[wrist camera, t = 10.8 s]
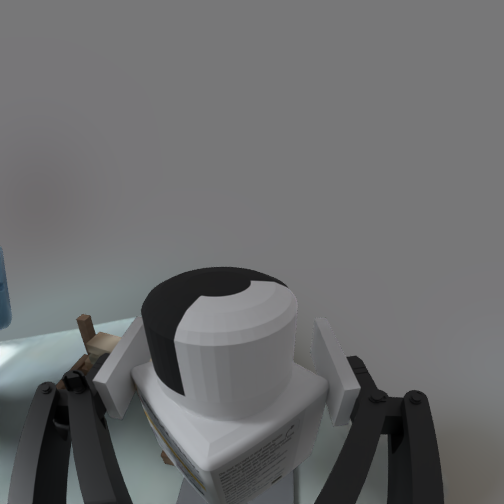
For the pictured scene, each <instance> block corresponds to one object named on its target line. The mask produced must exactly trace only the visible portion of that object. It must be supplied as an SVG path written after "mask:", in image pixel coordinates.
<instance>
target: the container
mask: <svg viewBox="0 0 504 504" xmlns="http://www.w3.org/2000/svg"><path fill="white" fill-rule="evenodd" d="M297 309H298V303H297V299H296V297H295V295H294V294H293V293H292V292H291V290H290V289H289V288H288V287H287V286H286V285H285V284H284V283H283V282H281V281H280V280H278V279H276V278H274V277H271V276H269V275H266V274H263V273H260V272H257V271H254V270H250V269H244V268H236V267H211V268H202V269H197V270H192V271H188V272H184V273H182V274H179V275H177V276H174V277H172V278H170V279H168V280H166V281H164V282H162V283H160V284H159V285H158V286H156V287H155V288H154V289H153V290H151V292H150V293H149V294H148V296H147V298H146V299H145V301H144V303H143V305H142V309H141V314H142V319H143V324H144V329H145V334H146V338H147V342H148V347H149V351H150V355H151V359H152V361H150V362H148V363H145V364H142V365H139V366H136V367H134V368H133V369H132V370H131V376H132V379H133V382H134V384H135V387H136V390H137V393H138V396H139V398H140V401H141V403H142V406H143V409H144V411H145V414H146V416H147V418H148V421H149V423H150V425H151V428H152V430H153V432H154V435H155V437H156V439H157V441H158V443H159V445H160V446H161V448H162V449H163V450H164V452H165V453H166V454H167V456H168V457H169V458H170V460H171V461H172V462H173V464H174V465H175V466H176V467H177V469H178V470H179V471H180V472H181V474H182V475H183V476H184V477H185V478H186V480H187V481H188V482H189V483H190V484H191V485H192V487H193V488H194V489H195V490H196V491H197V492H198V493H199V494H200V496H201V497H202V498H203V499H204V500H205V501H206V502H207V503H208V504H247V503H248V502H250V501H251V500H253V499H254V498H256V497H257V496H259V495H260V494H262V493H263V492H264V491H266V490H267V489H269V488H270V487H271V486H273V485H274V484H275V483H277V482H278V481H279V480H281V479H282V478H283V477H285V476H286V475H287V474H288V473H290V472H291V471H292V470H293V469H295V468H296V467H297V466H298V465H299V464H301V463H302V462H303V461H304V460H305V459H306V458H308V457H309V456H310V454H311V452H312V449H313V446H314V443H315V440H316V436H317V433H318V429H319V426H320V422H321V419H322V415H323V411H324V407H325V403H326V399H327V395H328V391H329V381H328V380H327V379H325V378H323V377H321V376H319V375H317V374H315V373H313V372H312V371H310V370H308V369H306V368H304V367H302V366H300V365H299V364H297V363H295V362H293V357H294V347H295V336H296V323H297V311H298V310H297Z"/></svg>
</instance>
